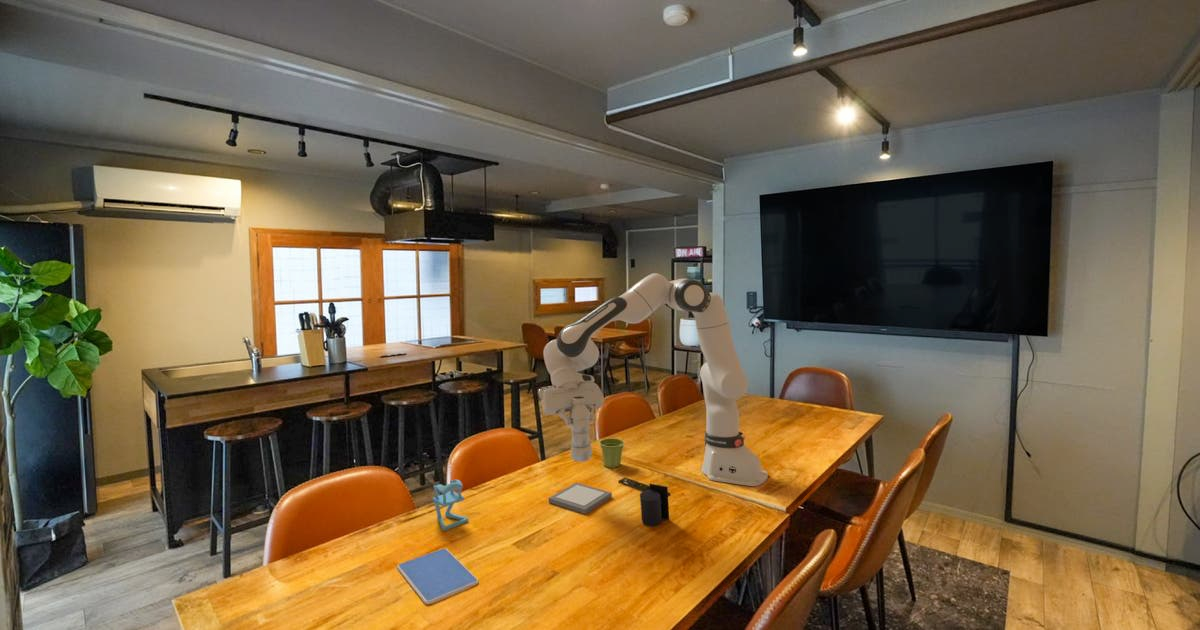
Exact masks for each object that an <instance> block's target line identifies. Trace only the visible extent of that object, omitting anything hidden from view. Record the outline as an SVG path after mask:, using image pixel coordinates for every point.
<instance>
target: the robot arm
mask: <svg viewBox="0 0 1200 630" xmlns="http://www.w3.org/2000/svg"><path fill="white" fill-rule="evenodd" d="M663 305H665V306H666V307H667V308H669V309H672V310H675V311H679V312H691V313H692V315H693V317H694V319H695V320H694V321H695V325H696V331H697V337H698V341H699V342H698V343H699V346H700V347H699V348H700V351H701V352H702V354H703V357H704V359H705V361H706V362H704V363H703V364H702V365H701V368H700V370H699V376H700V379H701V382H702V389H703V397H704V402H705V411H706V415H705V416H706V419H705V422H706V424H705V425H706V427H705V429H706V430H705V431H704V445H705V449H704V458H703V461H702V462H703V463H702V466H701V473H702V474H704V475H705V476H707V478H708V479H709V480H710V481H714V482H719V483H721V482H722V483H726V484H735V485H740V486H748V487H758V486H761V485H763V484H764V483H765V482H767V480H768V477H769V475H768V472H767V471H766V470H764V469H762V466H761V465H762V464H761V461H760V458H759V457H758V456H757V455H756V454H755V453H754V452H752V451H751V449H749V448H748V447H747V446H746V445H745V439H746V435H744V436H743V435H741V434H740V433H739V432H740V431H739V426H740V425H739V423H740V422H739V421H740V420H739V419H740V416H739V415H740V414H739V413H740V412H739V409H738V406H737V403H736V399H739V398H741V397H743V396H744V395H745V394H746V392H747V391H748V389H749V379H748V377H747V375H746V374H745V372H744V370H743V367H742V365H741V362H740V360H739V356H738V354H737V351H736V348H735V346H734V341H733V338H732V337H733V336H732V332H731V327H730V322H729V317H728V313H727V310H726V306H725V304H724V302H723V299H722V297H721V295H719V294H718V293H714V292H709V291H708V290H707V288H706V287H705V286H704V284H703V283H701V281H699V280H696V279H694V278H678V279H672V280H668V279H667V278H666V277H665V276H664V275H662V274H659V273H656V272H655V273H654V272H653V273H650V274H649V275H647V276H645V277H644V278H642V279H640V280H639V281H638V282H636V283H634V285H633V286H631V287H630V288H629V289H628V290H626V291H625V292H623V294H621V295H619V296H615V297H613V298H612V297H611V298H610V299H609V300H607V301H605V302H604V303H602V304H601V305H599V306H598V307H596V308H595V309H594V310H592V311H591V312H590V313H588V314H586V316H584V317H582V318H581V319H579V320H577V321H575V322H572V323H570V324H568V325H566V326H565V327H563V328H562V329H561V330H560V332H558V335H557V338H556V339H552V340H550V341H549V342H547V344H546V345H545V346H544V347H543V351H542V352H543V360H544V364H545V367H546V370H547V372H548V374H549V375H550V381H551V385H549V386H543V387H540V389H538V391H537V393H538V394H537V395H538V397H539V400H541V407H542V412H543V414H545V415H546V416H549V415H550V416H551V415H557V414H558V416H559V418H561V419H562V420H563V421H564V424H565V425H567V426H568V425H570V424H571V423H572V420H571V418H570V417H569V415H568V416H567V414H565V413H570V410H571V409H572V407H573V404H572V402H573V401H572V398H573V397H576V396H583V397H584V398H585V404H584V405H585V406H586V407H587V408H588V410H589V412H590V422H591V421H594V420H595V415H594V412H595V411H594V410H595V409H599V408H601V407H602V406H603V404H604V402H605V397H604V394H603V392H602V390H601V388H600V386H599V385H598V384H597V383H595V377H594V376H593V375H590V374H585V373H580V372H582V371H585V370H587V369H591V368H592V367H593V366H595V365H596V364H597V362H598V361H599V358H600V350H599V349H600V348H598V346H597V345H596V343H595V342H594V340H593V339H592V336H593V335H595V334H596V333H597V332H599V331H600V330H602V328H604V327H605V326H607V325H608V324H610V323H611V322H612V323H613V322H614V321H622V322H625V323H628V324H632V325H633V324H639V323H642V322H643V321H645V320H646V319H648V317H650V315H652V314H653V313H654V312H655V311H656V310H657V309H658V308H659V307H661V306H663Z"/></svg>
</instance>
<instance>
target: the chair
mask: <svg viewBox="0 0 1200 630" xmlns="http://www.w3.org/2000/svg"><path fill="white" fill-rule="evenodd" d="M449 482H450V483H449V484H446V485H443V484H441V483H440V484H436V485H433V490H434V493H435V495H434V496H433V497H432V502H433V504H434V507H435V512H436V515H437V517H436V519H437V520H438V523H439V525H440V528H441V531H447V530H451V529H453V528H455V527H458V526H460V525H463V524H465V523H468V522H469V518H468V517H466V516H464V515H463V516H462V515H459V514H455V513H452V512H451V511H452V508H453V506H454V504H455V503H456V504H457V503H460V502H462V501H465V496H463V495H462V491H463V490H462V489H463V487H464V486H463V483H462V481H460V479H451V480H450V481H449ZM455 490H458V491H457V492H456V491H455ZM439 492H440V493H441V494H439ZM440 507H442V508H446V507H447V508H446V511H445V515H444V516H445V517H447V518H449V519H455V520H458V521H455V522H452V523H450V524H447V525H445V523H444V519H443V517H442V514H441V513H442V512H441V509H440Z"/></svg>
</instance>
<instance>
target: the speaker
mask: <svg viewBox="0 0 1200 630" xmlns="http://www.w3.org/2000/svg"><path fill="white" fill-rule="evenodd" d="M668 490H669V488H668V486H666V485H660V484H654V483H649V489H646V490H645V489H644V490H643V491H641V492H640V494H639V501H640V513H641V514H640V515H641V516H640V517H641V522H642V524H643V525H646V526H648V527H656V526H659V525H660V524H662V521H663V520H666V521H669V520H670V512H669V511H670V506H669V491H668Z"/></svg>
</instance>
